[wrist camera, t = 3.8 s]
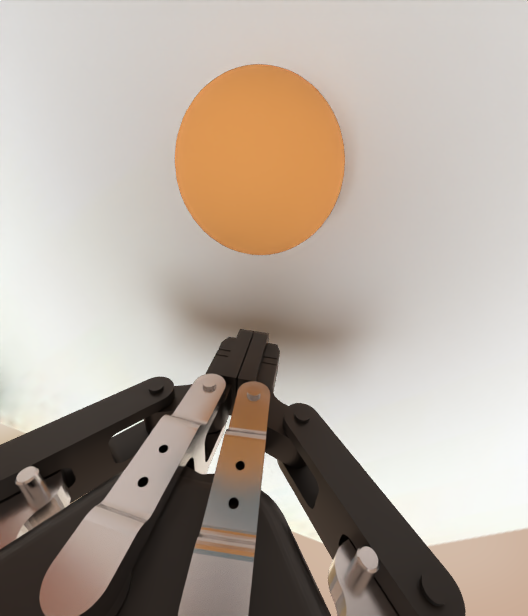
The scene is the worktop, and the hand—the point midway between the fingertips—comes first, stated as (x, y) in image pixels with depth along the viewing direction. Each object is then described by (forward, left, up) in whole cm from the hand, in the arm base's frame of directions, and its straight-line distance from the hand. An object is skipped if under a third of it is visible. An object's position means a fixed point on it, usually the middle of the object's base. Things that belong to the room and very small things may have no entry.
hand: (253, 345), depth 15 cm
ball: (-8, 0, +1) cm, 8 cm away
